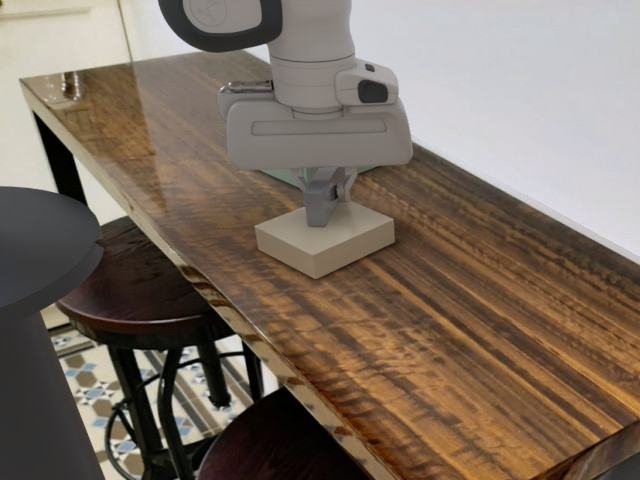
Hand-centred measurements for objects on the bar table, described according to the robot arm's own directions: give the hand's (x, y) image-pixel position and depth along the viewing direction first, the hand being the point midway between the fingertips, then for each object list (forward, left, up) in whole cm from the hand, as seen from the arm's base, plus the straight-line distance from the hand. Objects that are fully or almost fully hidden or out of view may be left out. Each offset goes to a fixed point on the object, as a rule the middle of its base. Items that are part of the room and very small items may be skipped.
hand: (327, 201), depth 87 cm
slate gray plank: (0, 0, -1) cm, 1 cm away
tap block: (-3, -3, -4) cm, 6 cm away
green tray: (+14, +17, -4) cm, 22 cm away
